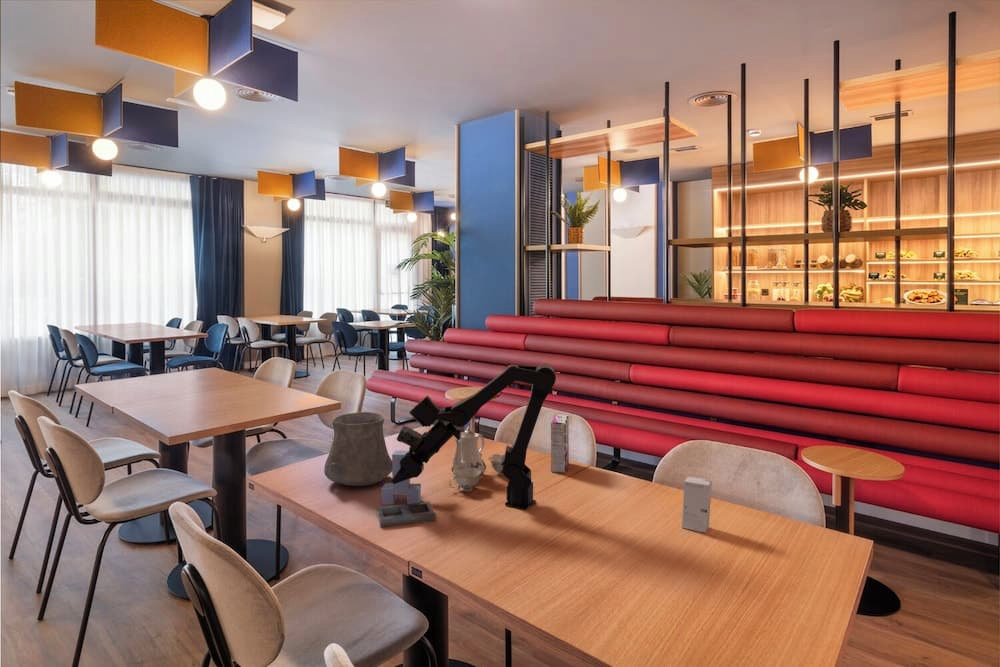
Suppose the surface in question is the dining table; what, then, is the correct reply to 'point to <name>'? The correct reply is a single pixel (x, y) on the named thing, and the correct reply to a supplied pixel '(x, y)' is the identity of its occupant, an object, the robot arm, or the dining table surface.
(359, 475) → the vessel
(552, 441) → the candy bar box
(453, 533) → the dining table surface
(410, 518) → the rail
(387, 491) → the blue-gray inverted t block
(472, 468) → the chinaware
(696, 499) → the skincare box
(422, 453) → the robot arm
